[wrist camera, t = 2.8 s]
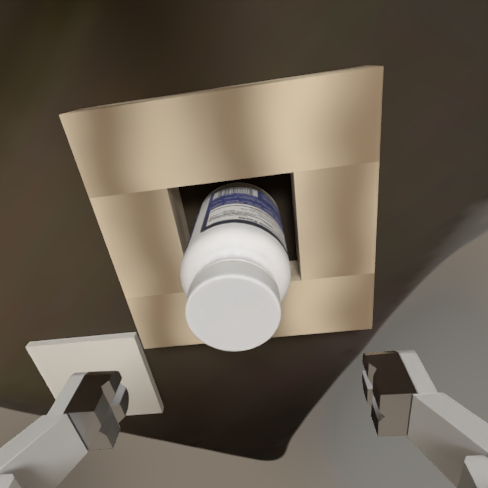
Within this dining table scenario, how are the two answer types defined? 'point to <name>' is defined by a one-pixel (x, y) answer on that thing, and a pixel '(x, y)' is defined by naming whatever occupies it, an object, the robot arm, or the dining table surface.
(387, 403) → the robot arm
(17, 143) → the dining table surface
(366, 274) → the socket block
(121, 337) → the pad
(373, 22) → the dining table surface
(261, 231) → the pill bottle
